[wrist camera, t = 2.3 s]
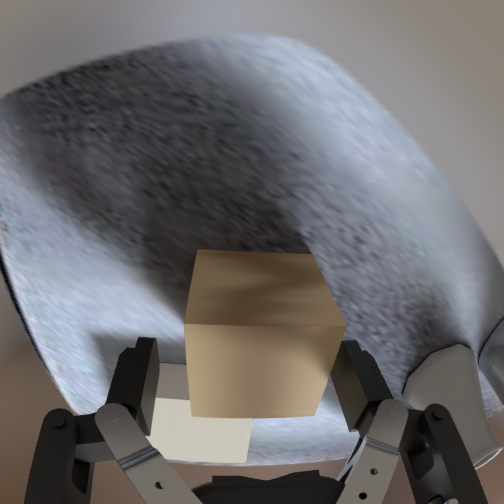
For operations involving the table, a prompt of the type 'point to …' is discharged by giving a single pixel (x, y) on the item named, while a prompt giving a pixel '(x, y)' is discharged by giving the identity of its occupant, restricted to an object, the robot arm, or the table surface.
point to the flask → (455, 398)
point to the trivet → (193, 425)
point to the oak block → (259, 334)
